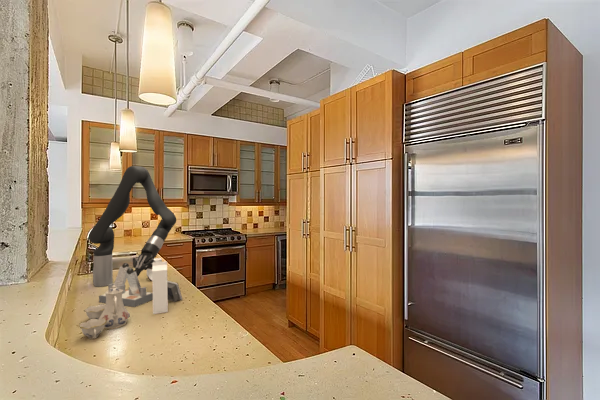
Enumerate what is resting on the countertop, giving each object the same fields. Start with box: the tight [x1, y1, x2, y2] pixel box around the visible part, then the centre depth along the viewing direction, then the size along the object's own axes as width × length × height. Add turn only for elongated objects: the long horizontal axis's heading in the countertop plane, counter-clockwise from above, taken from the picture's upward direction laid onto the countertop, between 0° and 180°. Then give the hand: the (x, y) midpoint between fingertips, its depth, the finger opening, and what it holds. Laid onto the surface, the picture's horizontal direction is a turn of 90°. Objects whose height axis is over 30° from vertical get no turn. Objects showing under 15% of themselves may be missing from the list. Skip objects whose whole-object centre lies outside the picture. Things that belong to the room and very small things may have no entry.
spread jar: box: [146, 257, 163, 281], centre depth 195 cm, size 12×11×12 cm
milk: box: [151, 260, 169, 315], centre depth 141 cm, size 6×6×22 cm
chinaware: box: [78, 285, 131, 340], centre depth 125 cm, size 28×17×17 cm, turn 35°
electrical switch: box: [167, 280, 183, 303], centre depth 156 cm, size 9×5×9 cm, turn 57°
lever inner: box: [113, 262, 131, 288], centre depth 160 cm, size 5×3×14 cm, turn 72°
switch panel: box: [98, 282, 153, 308], centre depth 155 cm, size 22×12×7 cm, turn 72°
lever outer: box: [125, 267, 142, 295], centre depth 151 cm, size 5×3×14 cm, turn 72°
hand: (134, 276), depth 151 cm, fingers closed
